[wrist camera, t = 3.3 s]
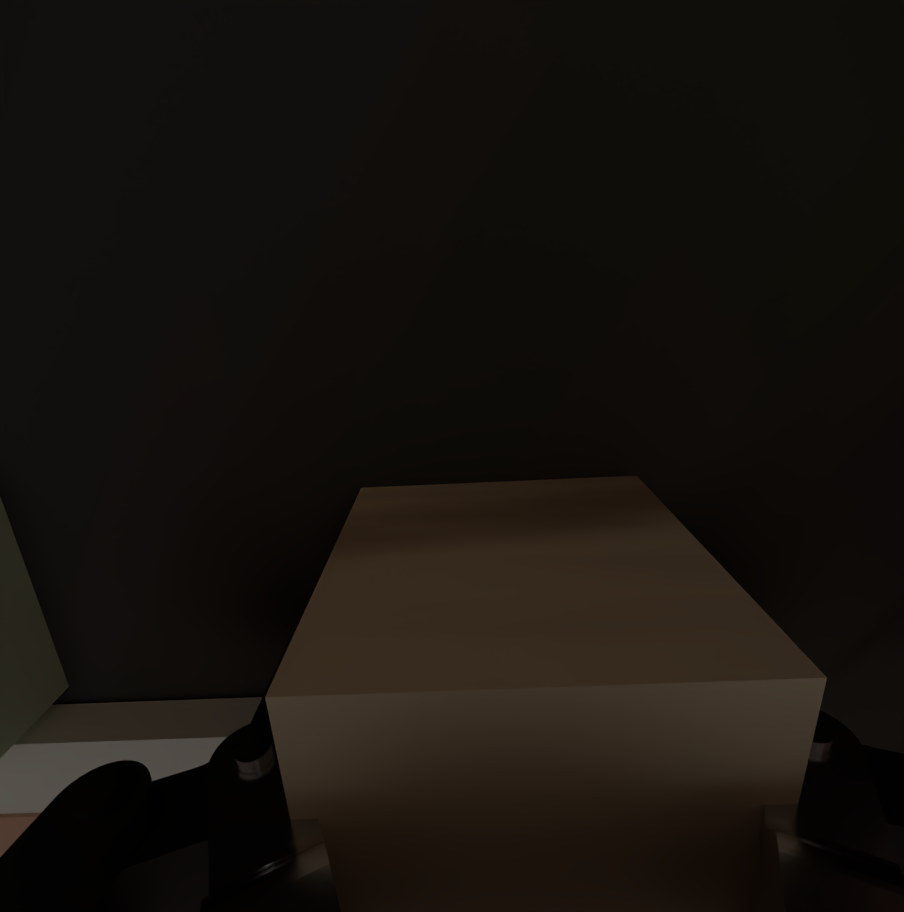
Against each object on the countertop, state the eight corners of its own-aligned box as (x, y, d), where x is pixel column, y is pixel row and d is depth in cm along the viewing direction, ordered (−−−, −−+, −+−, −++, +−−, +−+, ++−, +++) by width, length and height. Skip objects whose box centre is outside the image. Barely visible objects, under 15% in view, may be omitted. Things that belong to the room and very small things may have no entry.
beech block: (361, 487, 11) (265, 697, 6) (636, 475, 11) (825, 677, 5) (385, 704, 13) (333, 1024, 7) (620, 696, 13) (749, 1015, 7)
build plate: (-136, 711, 13) (-196, 754, 12) (285, 696, 13) (267, 739, 12) (4, 976, 17) (-32, 1031, 16) (338, 968, 17) (328, 1023, 15)
